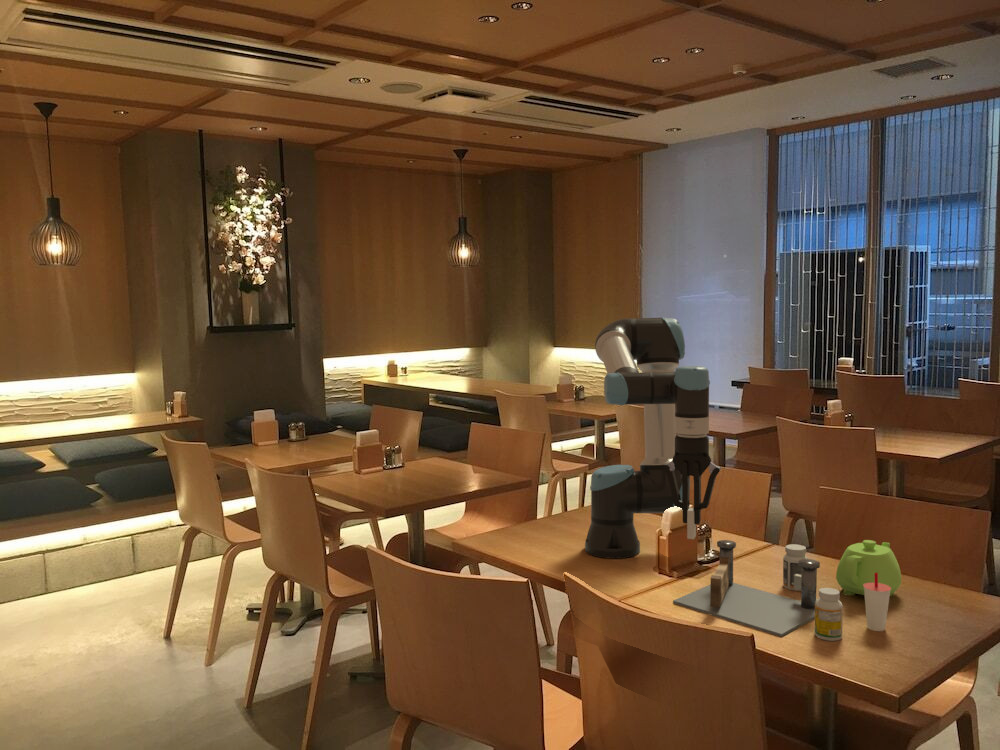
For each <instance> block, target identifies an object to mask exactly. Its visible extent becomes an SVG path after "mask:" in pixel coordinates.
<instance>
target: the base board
mask: <svg viewBox="0 0 1000 750" xmlns="http://www.w3.org/2000/svg"><path fill="white" fill-rule="evenodd" d="M672 604H674V605H675V604H676V605H678V606H680V607H684V608H688V609H690V610H693V611H694V610H695V611H697V612H700V613H703V614H707V615H711V616H713V617H717V618H719V619H723V620H726V621H730V622H732V623H735V624H739V625H741V626H745V627H749V628H752V629H755V630H759V631H761V632H764V633H768V634H771V635H774V636H778V637H780V638H781V637H784V636H786V635H788V634H789V633H792V632H793V631H795V630H796V629H797V630H798V628H800V627H802V626H803V625H805V624H807V623H809V622H811V621H813V620H815V609H805V608H802V607H801V600H799V599H795V598H791V597H787V596H784V595H780V594H776V593H773V592H769V591H765V590H761V589H757V588H754V587H750V586H747V585H743V584H740V583H735V582H733V585H732V586H728V588H727V591H726V593H725V596H724V598H723V601H722V603H721V605H720V608H718V607H710V584H708V585H706V586H704V587H701V588H699V589H697V590H694V591H692V592H690V593H688V594H685V595H682V596H680V597H678V598H676V599H674V600H672Z"/></svg>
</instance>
